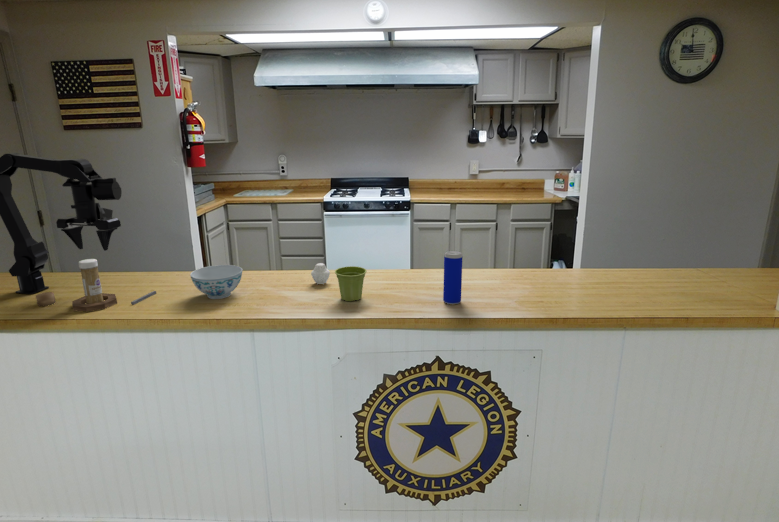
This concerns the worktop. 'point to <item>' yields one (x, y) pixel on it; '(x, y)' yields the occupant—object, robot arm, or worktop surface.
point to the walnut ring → (81, 306)
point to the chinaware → (217, 280)
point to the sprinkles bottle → (91, 281)
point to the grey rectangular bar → (143, 297)
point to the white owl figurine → (320, 273)
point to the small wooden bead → (45, 299)
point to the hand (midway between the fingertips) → (93, 249)
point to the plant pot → (350, 282)
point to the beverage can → (452, 277)
